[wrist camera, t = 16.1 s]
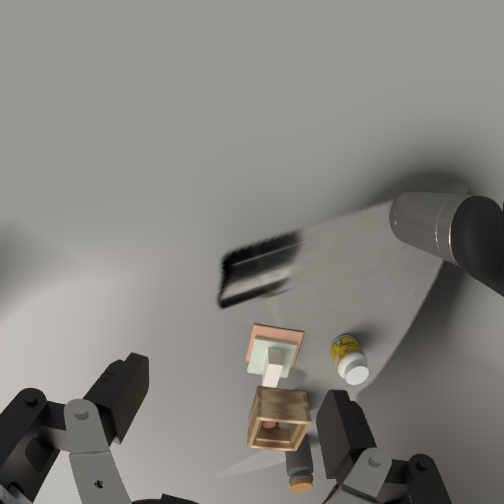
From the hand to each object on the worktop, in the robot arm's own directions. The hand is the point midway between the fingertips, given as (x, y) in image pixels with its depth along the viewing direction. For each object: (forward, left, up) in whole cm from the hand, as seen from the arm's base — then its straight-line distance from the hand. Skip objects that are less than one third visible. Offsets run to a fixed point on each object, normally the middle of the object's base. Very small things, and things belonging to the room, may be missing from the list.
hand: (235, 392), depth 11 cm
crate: (-11, +33, -34) cm, 49 cm away
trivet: (-7, +18, -34) cm, 39 cm away
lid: (-7, +20, -34) cm, 40 cm away
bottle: (-19, +45, -34) cm, 60 cm away
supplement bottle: (-20, +16, -34) cm, 43 cm away
